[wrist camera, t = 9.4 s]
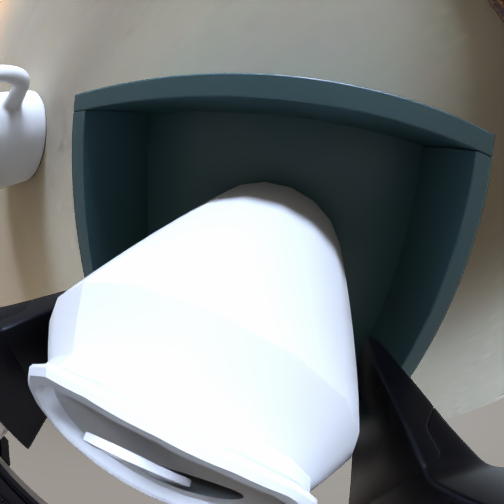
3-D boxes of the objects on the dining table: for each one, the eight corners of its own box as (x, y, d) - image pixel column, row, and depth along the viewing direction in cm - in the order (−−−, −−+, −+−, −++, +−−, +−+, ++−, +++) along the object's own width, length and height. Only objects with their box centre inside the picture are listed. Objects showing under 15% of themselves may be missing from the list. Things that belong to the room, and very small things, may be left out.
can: (225, 319, 16) (128, 496, 6) (180, 202, 14) (-28, 330, 3) (349, 301, 14) (353, 536, 3) (320, 162, 12) (352, 355, 1)
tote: (361, 373, 16) (364, 438, 11) (152, 326, 19) (112, 374, 14) (435, 134, 10) (495, 134, 5) (145, 101, 13) (74, 94, 8)
